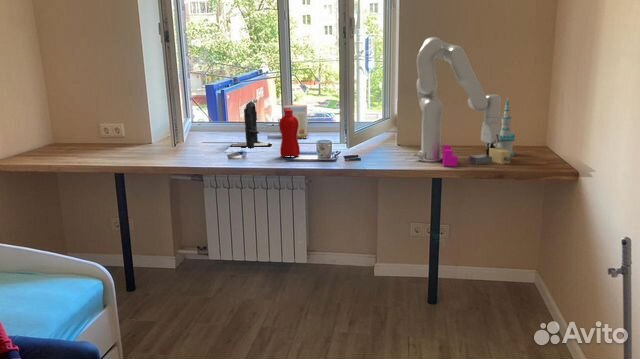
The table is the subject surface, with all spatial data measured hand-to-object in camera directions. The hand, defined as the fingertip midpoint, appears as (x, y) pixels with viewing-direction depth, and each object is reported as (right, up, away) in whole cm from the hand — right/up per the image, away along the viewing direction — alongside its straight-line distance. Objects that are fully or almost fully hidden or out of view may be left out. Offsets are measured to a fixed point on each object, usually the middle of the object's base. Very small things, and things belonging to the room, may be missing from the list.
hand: (489, 155), depth 272 cm
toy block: (-22, -4, -8) cm, 24 cm away
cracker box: (-101, +14, +70) cm, 123 cm away
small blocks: (-2, -3, -7) cm, 8 cm away
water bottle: (-103, 0, +18) cm, 104 cm away
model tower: (+10, +1, +8) cm, 13 cm away
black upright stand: (-127, +7, +47) cm, 135 cm away
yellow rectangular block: (+2, -3, -7) cm, 8 cm away
